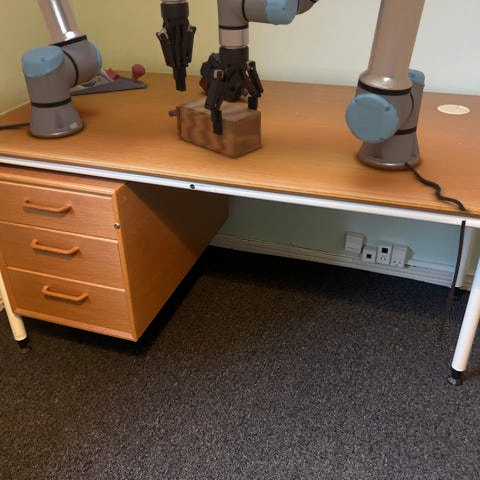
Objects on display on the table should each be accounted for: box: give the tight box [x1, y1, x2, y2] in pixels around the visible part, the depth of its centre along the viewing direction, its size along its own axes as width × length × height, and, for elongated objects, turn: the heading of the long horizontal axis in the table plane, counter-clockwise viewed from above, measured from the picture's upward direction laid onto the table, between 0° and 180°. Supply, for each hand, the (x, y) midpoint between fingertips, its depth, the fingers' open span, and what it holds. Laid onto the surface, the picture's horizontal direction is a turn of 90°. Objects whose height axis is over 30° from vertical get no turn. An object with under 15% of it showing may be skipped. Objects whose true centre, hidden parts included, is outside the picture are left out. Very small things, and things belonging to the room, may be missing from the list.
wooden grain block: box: [178, 96, 262, 159], centre depth 148 cm, size 21×10×10 cm, turn 47°
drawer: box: [167, 104, 181, 135], centre depth 151 cm, size 26×9×8 cm, turn 47°
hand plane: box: [70, 63, 146, 96], centre depth 194 cm, size 7×31×15 cm, turn 107°
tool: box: [198, 52, 249, 102], centre depth 185 cm, size 6×19×15 cm, turn 51°
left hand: (181, 90), depth 153 cm, fingers closed
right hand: (235, 127), depth 144 cm, fingers open, 13 cm apart
